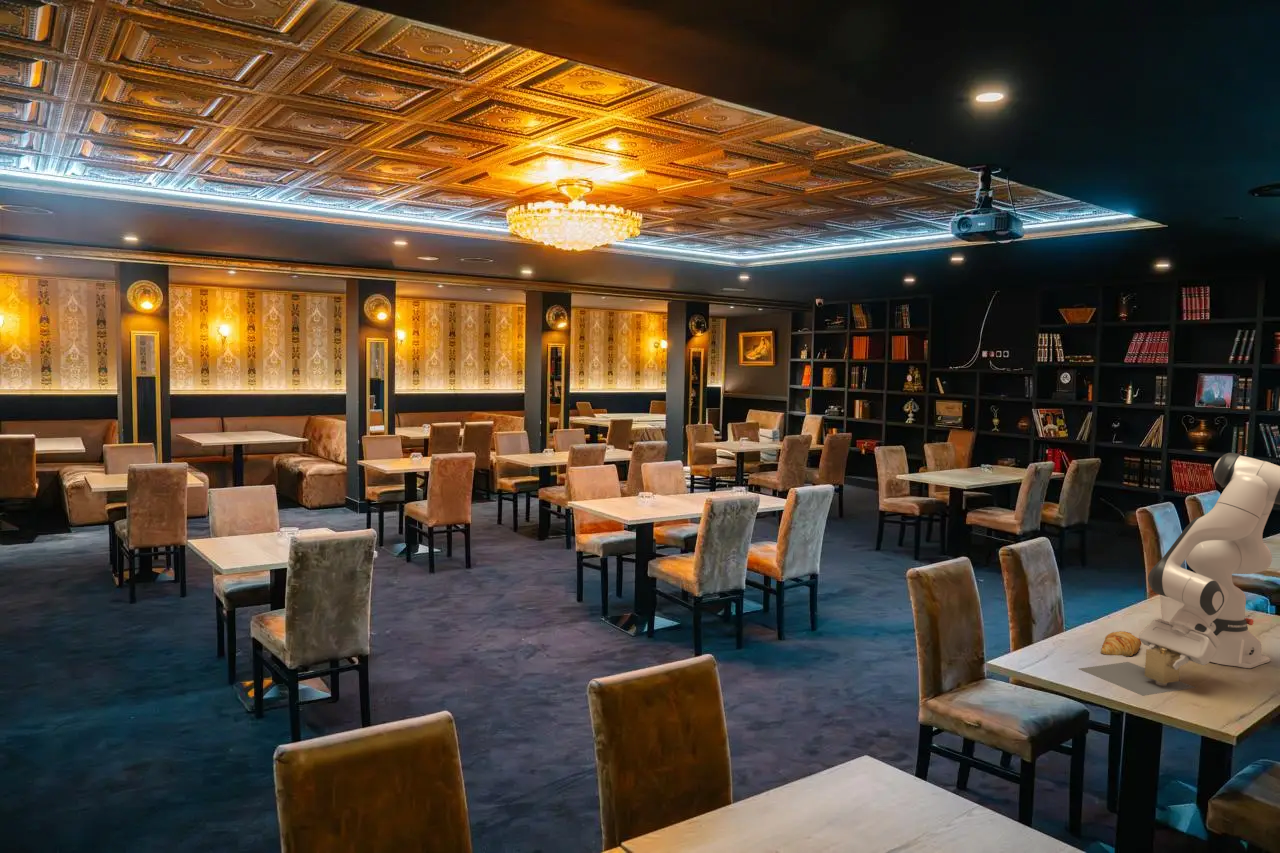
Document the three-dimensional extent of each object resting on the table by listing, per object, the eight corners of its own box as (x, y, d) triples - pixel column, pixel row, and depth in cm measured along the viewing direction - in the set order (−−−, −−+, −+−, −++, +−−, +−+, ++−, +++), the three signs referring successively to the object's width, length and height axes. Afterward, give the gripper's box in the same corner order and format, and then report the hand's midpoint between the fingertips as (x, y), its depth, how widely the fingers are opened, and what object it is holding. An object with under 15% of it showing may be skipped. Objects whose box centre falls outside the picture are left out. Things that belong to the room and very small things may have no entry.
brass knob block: (1159, 673, 250) (1161, 644, 249) (1178, 681, 244) (1180, 650, 243) (1144, 676, 248) (1146, 646, 247) (1163, 683, 242) (1165, 652, 241)
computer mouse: (1160, 681, 248) (1161, 667, 248) (1168, 685, 245) (1170, 670, 245) (1153, 682, 247) (1154, 668, 247) (1162, 686, 244) (1163, 671, 244)
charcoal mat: (1128, 664, 265) (1128, 661, 265) (1195, 690, 244) (1195, 687, 244) (1077, 671, 257) (1077, 668, 257) (1142, 698, 237) (1142, 695, 237)
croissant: (1110, 670, 269) (1124, 652, 265) (1084, 647, 276) (1096, 629, 272) (1145, 657, 280) (1158, 640, 277) (1118, 636, 288) (1131, 619, 284)
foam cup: (1151, 622, 311) (1153, 587, 310) (1170, 620, 313) (1172, 586, 312) (1174, 630, 302) (1177, 594, 301) (1193, 628, 304) (1196, 593, 303)
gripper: (1150, 611, 257) (1124, 645, 254) (1216, 631, 238) (1189, 668, 235) (1159, 624, 259) (1134, 658, 256) (1226, 645, 240) (1199, 682, 237)
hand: (1161, 663), depth 245 cm, fingers closed on brass knob block, 6 cm apart
